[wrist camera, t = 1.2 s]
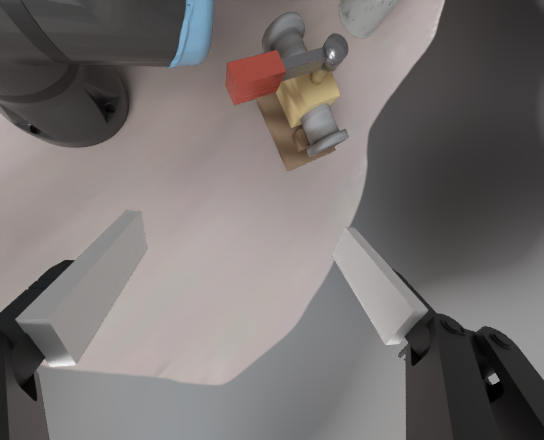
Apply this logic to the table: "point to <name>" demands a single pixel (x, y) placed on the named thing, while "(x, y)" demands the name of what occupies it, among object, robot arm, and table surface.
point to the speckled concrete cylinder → (363, 15)
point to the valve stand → (299, 101)
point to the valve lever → (280, 69)
